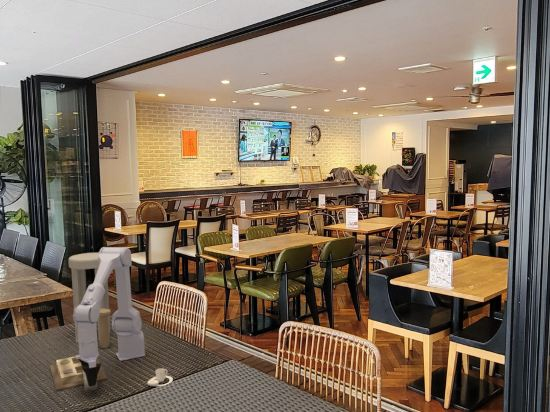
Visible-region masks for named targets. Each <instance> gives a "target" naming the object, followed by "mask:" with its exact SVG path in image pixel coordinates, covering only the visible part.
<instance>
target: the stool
mask: <svg viewBox="0 0 550 412" xmlns="http://www.w3.org/2000/svg"><path fill="white" fill-rule="evenodd" d="M98 255H99V252H85V253H79V254H74V255H71V256H69V258H68V268H70V270H71V282H72V283H71V284H72V285H71V286H72V303H73V311H74V310H75V308H76V307H77V306H79V305H80V304H81V302H82V300H83V297H84V295H85V293H86V291H87V280H86V279H87V278H86V270H90V269H94V278H95V277H96V274H97V270H98V267H99V260H98ZM108 279H109V278H108ZM108 279H107V281H106V283H105V285H104V289H105V293H104V296H103V298H102V301H101V303H100V309H110V303H109V285H108V284H109V283H108ZM110 318H111V317H110V315H108V323H109V331H110V332H111V322H110V321H111V319H110ZM96 323H97V338H98V342H100V337H99V318H98V320H97V321H96ZM74 331H75V332H74V334H75V343H79V342H78V328H76V323H75V322H74Z"/></svg>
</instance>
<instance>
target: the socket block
mask: <svg viewBox="0 0 550 412" xmlns="http://www.w3.org/2000/svg"><path fill="white" fill-rule="evenodd" d="M99 363H100V361H99V359H98V358H97V359H96V364H99ZM49 369H50V371H51V372H50V373H51V376H52V379H53V384H54V388H55V391H56V392H58V391H59V392H60V391H63V390H68V389H72V388H77V387H80V386H84V378H83V369H82V365H81V362H80V361H79V359H76V358H75V356H71V357H66V358H62V359H61V358H60V359H56V362H55V364H49ZM107 380H108V376H107V375H106V373H105V371H104V368H103V367H102V366H101V368H100V369H99V372H98V375H97V383H98V382H103V381H107Z"/></svg>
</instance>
